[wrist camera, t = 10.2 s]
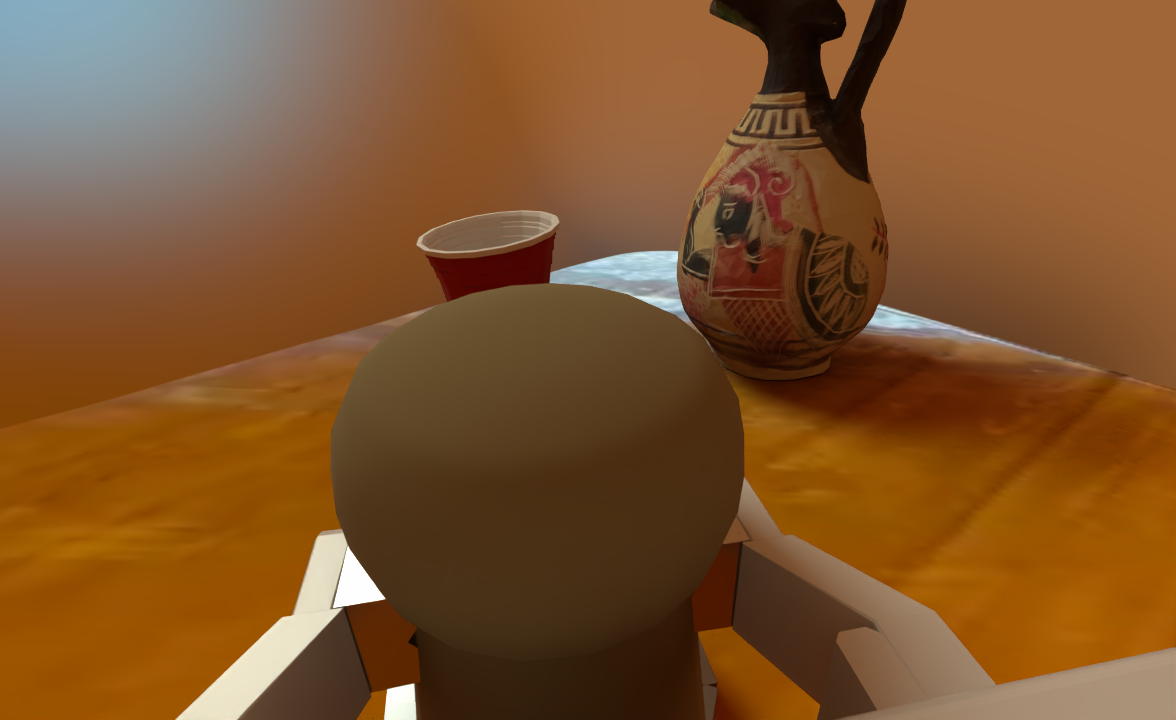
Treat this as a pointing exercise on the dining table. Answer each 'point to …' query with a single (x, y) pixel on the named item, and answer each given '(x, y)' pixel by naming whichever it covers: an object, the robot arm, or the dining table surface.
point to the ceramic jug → (790, 202)
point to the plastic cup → (491, 251)
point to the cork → (542, 500)
